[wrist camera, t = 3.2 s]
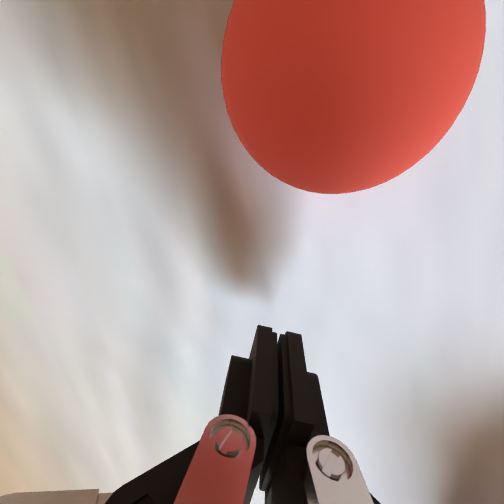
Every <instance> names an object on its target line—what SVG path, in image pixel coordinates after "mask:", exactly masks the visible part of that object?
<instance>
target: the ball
mask: <svg viewBox="0 0 504 504" xmlns="http://www.w3.org/2000/svg"><path fill="white" fill-rule="evenodd" d="M485 32H486V12H485V4H484V0H235V1H234V4H233V7H232V10H231V13H230V16H229V19H228V22H227V27H226V32H225V36H224V41H223V49H222V59H221V80H222V87H223V95H224V100H225V104H226V108H227V112H228V115H229V117H230V120H231V123H232V125H233V128H234V130H235V132H236V133H237V135H238V137H239V139H240V141H241V143H242V144H243V145H244V147H245V148H246V150H247V151H248V153H249V154H250V155H251V156H252V157H253V158H254V159H255V161H256V162H257V163H258V164H259V165H260V166H261V167H263V168H264V169H265V170H266V171H267V172H269V173H270V174H271V175H273V176H274V177H276V178H278V179H279V180H281V181H282V182H284V183H287V184H289V185H291V186H293V187H296V188H299V189H302V190H306V191H309V192H316V193H322V194H340V193H350V192H355V191H360V190H364V189H368V188H371V187H374V186H377V185H379V184H382V183H384V182H386V181H388V180H390V179H392V178H394V177H396V176H398V175H400V174H401V173H403V172H404V171H406V170H407V169H409V168H410V167H412V166H413V165H414V164H416V163H417V162H418V161H419V160H420V159H422V158H423V157H424V156H425V155H426V154H428V153H429V152H430V151H431V150H432V149H433V148H434V147H435V145H436V144H437V143H438V142H439V141H440V140H441V139H442V138H443V136H444V135H445V134H446V133H447V131H448V130H449V129H450V127H451V126H452V125H453V123H454V121H455V120H456V118H457V116H458V115H459V113H460V112H461V110H462V108H463V107H464V105H465V103H466V100H467V98H468V96H469V94H470V92H471V90H472V88H473V85H474V82H475V79H476V77H477V74H478V71H479V67H480V63H481V59H482V54H483V49H484V40H485Z"/></svg>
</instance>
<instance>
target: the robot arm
mask: <svg viewBox="0 0 504 504" xmlns="http://www.w3.org/2000/svg"><path fill="white" fill-rule="evenodd" d="M259 475H260V481H259V488H260V490H261V491H265V504H380V503H379V502H378V501H377V500H376V499H375V498H374V497H373V496H372V495H371V493H370V492H369V490H368V488H367V485H366V483H365V480H364V478H363V475H362V473H361V470H360V468H359V465H358V463H357V461H356V459H355V457H354V455H353V453H352V452H351V451H350V450H349V449H348V447H347V446H346V445H344V444H343V443H342V442H341V441H339V440H337V439H335V438H333V437H330V436H329V431H328V426H327V421H326V415H325V410H324V405H323V400H322V395H321V390H320V385H319V380H318V376H317V375H316V374H314V373H309V372H307V369H306V363H305V356H304V350H303V343H302V336H301V334H297V333H292V332H288V331H287V332H286V333H285V335H284V334H280V336H279V340H278V343H277V333H275V332H272V328H270V327H265V326H261V325H258V326H257V330H256V334H255V337H254V341H253V345H252V349H251V353H250V357H249V359H247V358H242V357H238V356H233V355H232V356H231V360H230V364H229V369H228V373H227V377H226V382H225V386H224V391H223V396H222V401H221V406H220V411H219V416H217V417H215V418H214V419H212V420H211V421H210V422H209V423H208V425H207V426H206V428H205V430H204V433H203V435H202V437H201V440H200V441H198V442H196V443H195V444H193V445H191V446H190V447H188V448H186V449H184V450H183V451H181V452H179V453H178V454H176V455H174V456H172V457H171V458H169V459H167V460H166V461H164V462H162V463H160V464H159V465H157V466H155V467H154V468H152V469H150V470H148V471H147V472H145V473H143V474H142V475H140V476H138V477H136V478H135V479H133V480H131V481H130V482H128V483H126V484H124V485H123V486H121V487H120V488H119V489H117V490H116V491H115V492H114V493H99V489H85V490H64V491H43V492H21V493H12V494H7V495H3V496H1V497H0V504H250V501H251V498H252V495H253V492H254V489H255V487H256V484H257V481H258V478H259Z"/></svg>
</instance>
